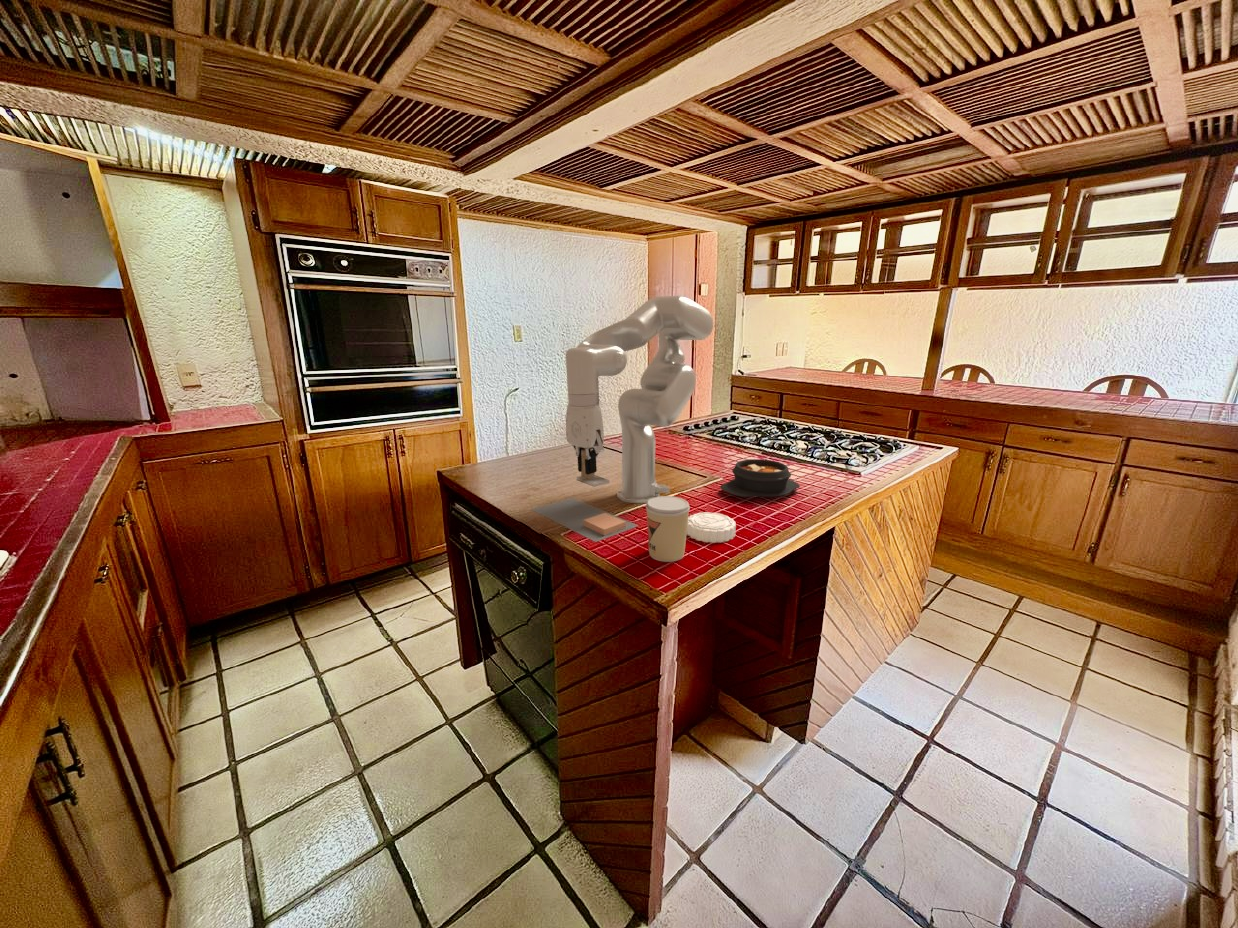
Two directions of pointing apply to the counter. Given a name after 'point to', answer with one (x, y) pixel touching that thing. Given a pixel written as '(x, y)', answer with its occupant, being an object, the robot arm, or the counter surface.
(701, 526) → the mooncake
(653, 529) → the coffee cup
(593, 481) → the wooden stand
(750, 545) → the counter surface
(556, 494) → the counter surface
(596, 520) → the tile
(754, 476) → the casserole
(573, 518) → the mat
